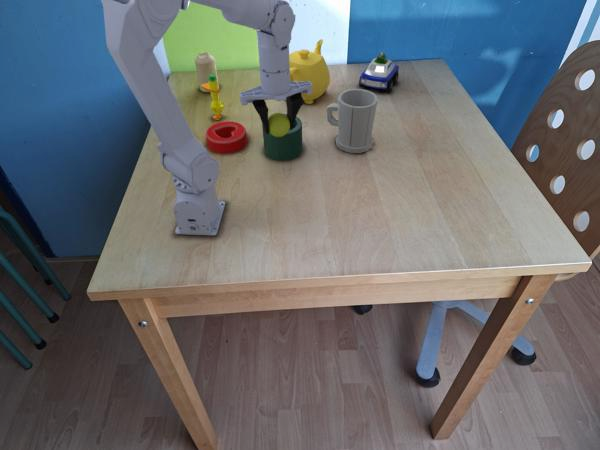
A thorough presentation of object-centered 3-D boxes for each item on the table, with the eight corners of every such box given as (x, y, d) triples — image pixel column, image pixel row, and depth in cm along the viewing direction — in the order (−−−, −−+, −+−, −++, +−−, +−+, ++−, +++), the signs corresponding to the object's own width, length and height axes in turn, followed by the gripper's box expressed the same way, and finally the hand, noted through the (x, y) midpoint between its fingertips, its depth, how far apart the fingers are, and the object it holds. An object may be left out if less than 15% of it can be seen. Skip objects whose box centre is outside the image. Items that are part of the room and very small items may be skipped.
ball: (293, 138, 90) (292, 117, 86) (270, 143, 89) (269, 122, 85) (286, 127, 93) (285, 106, 90) (264, 131, 92) (262, 110, 89)
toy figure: (202, 117, 112) (194, 73, 104) (211, 111, 114) (204, 68, 106) (222, 124, 110) (215, 79, 101) (231, 118, 112) (224, 74, 103)
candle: (196, 91, 123) (190, 57, 116) (205, 82, 127) (199, 49, 120) (214, 93, 122) (208, 59, 115) (222, 85, 125) (217, 51, 119)
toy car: (356, 90, 122) (358, 57, 115) (370, 73, 130) (373, 42, 123) (387, 96, 119) (391, 63, 112) (399, 79, 127) (404, 47, 120)
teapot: (341, 83, 125) (343, 41, 116) (311, 114, 112) (311, 69, 104) (300, 75, 130) (300, 33, 121) (267, 104, 117) (264, 59, 108)
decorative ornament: (206, 134, 106) (204, 123, 104) (245, 129, 107) (243, 118, 105) (208, 155, 99) (206, 144, 97) (249, 150, 101) (247, 139, 98)
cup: (336, 158, 98) (338, 111, 90) (324, 137, 104) (325, 92, 96) (378, 150, 100) (384, 104, 92) (363, 131, 106) (368, 85, 98)
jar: (301, 161, 97) (300, 134, 93) (262, 160, 98) (259, 133, 93) (303, 139, 104) (303, 114, 99) (266, 138, 104) (264, 113, 99)
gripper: (241, 81, 76) (249, 145, 86) (317, 69, 79) (316, 132, 89) (233, 66, 81) (241, 128, 91) (305, 55, 84) (305, 116, 94)
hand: (278, 129), depth 90 cm, fingers closed on ball, 5 cm apart
